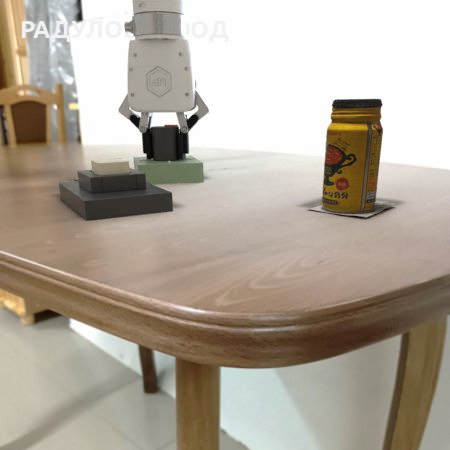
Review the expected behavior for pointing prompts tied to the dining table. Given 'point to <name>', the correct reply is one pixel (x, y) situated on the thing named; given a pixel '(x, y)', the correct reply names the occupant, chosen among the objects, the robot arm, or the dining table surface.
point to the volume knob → (165, 142)
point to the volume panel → (170, 170)
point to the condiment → (353, 158)
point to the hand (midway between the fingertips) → (166, 157)
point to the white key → (110, 166)
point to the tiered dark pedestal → (114, 195)
